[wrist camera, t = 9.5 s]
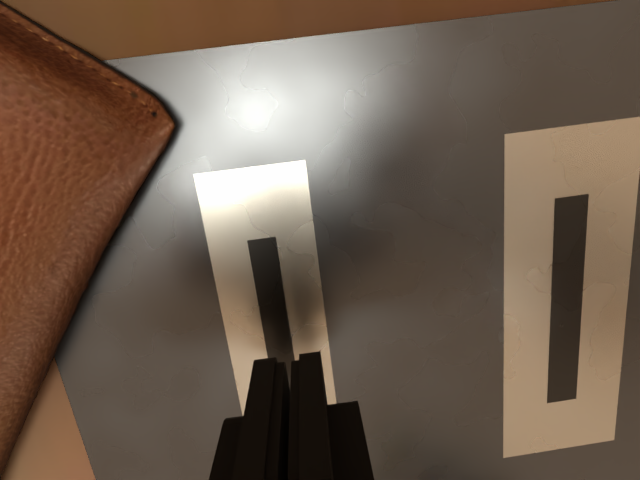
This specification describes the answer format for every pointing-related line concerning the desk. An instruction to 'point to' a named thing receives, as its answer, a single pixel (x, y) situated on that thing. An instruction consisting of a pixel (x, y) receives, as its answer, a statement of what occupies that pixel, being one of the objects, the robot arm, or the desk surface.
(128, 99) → the sunglasses case
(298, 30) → the desk surface
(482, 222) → the panel
